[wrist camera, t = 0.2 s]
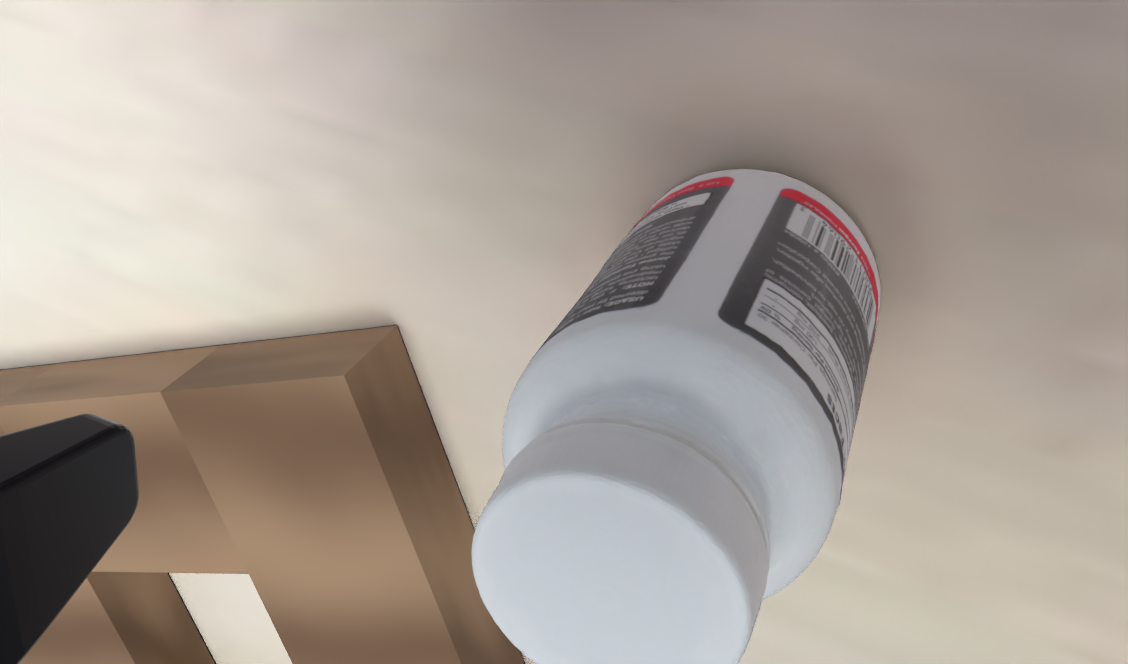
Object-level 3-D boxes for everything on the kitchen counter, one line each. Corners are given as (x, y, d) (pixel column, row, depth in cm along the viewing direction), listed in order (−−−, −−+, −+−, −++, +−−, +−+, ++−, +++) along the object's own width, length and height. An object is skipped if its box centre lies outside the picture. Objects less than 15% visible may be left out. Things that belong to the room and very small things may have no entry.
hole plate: (589, 835, 33) (561, 908, 31) (168, 780, 40) (123, 835, 38) (396, 325, 26) (343, 375, 24) (-65, 377, 34) (-135, 418, 32)
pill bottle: (630, 376, 24) (441, 691, 16) (625, 152, 21) (397, 393, 14) (873, 412, 22) (795, 785, 14) (898, 171, 20) (821, 462, 12)
